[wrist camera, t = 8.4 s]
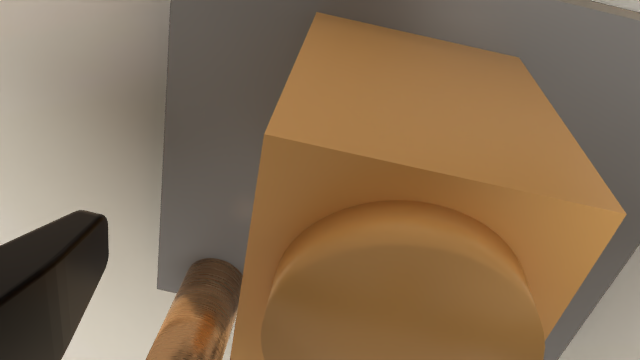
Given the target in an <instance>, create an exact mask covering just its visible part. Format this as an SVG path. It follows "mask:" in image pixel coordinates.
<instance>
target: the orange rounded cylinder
mask: <svg viewBox="0 0 640 360" xmlns="http://www.w3.org/2000/svg"><path fill="white" fill-rule="evenodd" d="M242 277H243V275H242V274H241V272H240V271H239V270H238V269H237V268H236V267H235V266H233V265H232V264H230V263H228V262H226V261H223V260H220V259H215V258H206V259H201V260H198V261H196V262H194V263H193V264H192V265H191V266H190V268H189V269H188V271H187V273H186V276H185V278H184V280H183V282H182V284H181V286H180V288H179V290H178V292H177V295H176V297H175V299H174V301H173V303H172V305H171V307H170V309H169V311H168V314H167V316H166V318H165V320H164V322H163V324H162V326H161V328H160V331H159V333H158V335H157V337H156V339H155V341H154V343H153V345H152V347H151V350H150V352H149V354H148V356H147V358H146V360H222V358H223V355H224V352H225V349H226V346H227V343H228V339H229V336H230V333H231V330H232V327H233V324H234V321H235V318H236V314H237V310H238V304H239V297H240V290H241V284H242Z"/></svg>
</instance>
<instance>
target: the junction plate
mask: <svg viewBox="0 0 640 360" xmlns="http://www.w3.org/2000/svg"><path fill="white" fill-rule="evenodd" d="M316 12H319V13H323V14H328V15H332V16H337V17H341V18H346V19H350V20H355V21H359V22H363V23H368V24H372V25H377V26H381V27H386V28H390V29H395V30H399V31H403V32H408V33H412V34H417V35H421V36H426V37H430V38H435V39H439V40H443V41H448V42H452V43H457V44H461V45H466V46H470V47H474V48H479V49H483V50H488V51H492V52H497V53H501V54H506V55H510V56H514V57H519V58H520V60H521V61H522V63H523V64H524V66H525V67H526V68H527V70H528V71H529V73H530V74H531V76H532V77H533V79H534V80H535V82H536V83H537V84H538V86H539V87H540V89H541V90H542V92H543V93H544V95H545V96H546V98H547V99H548V100H549V102H550V103H551V105H552V106H553V108H554V109H555V111H556V112H557V114H558V115H559V116H560V118H561V119H562V121H563V122H564V124H565V125H566V127H567V128H568V130H569V131H570V132H571V134H572V135H573V137H574V138H575V140H576V141H577V143H578V144H579V146H580V147H581V148H582V150H583V151H584V153H585V154H586V156H587V157H588V159H589V160H590V162H591V163H592V164H593V166H594V167H595V169H596V170H597V172H598V173H599V175H600V176H601V178H602V179H603V180H604V182H605V183H606V185H607V186H608V188H609V189H610V191H611V192H612V194H613V195H614V196H615V198H616V199H617V201H618V202H619V204H620V205H621V207H622V208H623V210H624V211H625V212H626V214H627V215H626V216H625V218H624V219H623V221H622V222H621V224H620V225H619V227H618V229H617V230H616V232H615V233H614V235H613V236H612V238H611V239H610V241H609V243H608V244H607V246H606V247H605V249H604V250H603V252H602V253H601V255H600V256H599V258H598V260H597V261H596V263H595V264H594V266H593V267H592V269H591V270H590V272H589V274H588V275H587V277H586V278H585V280H584V281H583V283H582V284H581V286H580V287H579V289H578V291H577V292H576V294H575V295H574V297H573V298H572V300H571V301H570V303H569V305H568V306H567V308H566V309H565V311H564V312H563V314H562V315H561V317H560V318H559V320H558V322H557V323H556V325H555V326H554V328H553V329H552V331H551V332H550V334H549V336H548V337H547V339H546V340H545V352H544V359H543V360H558V358H559V357H560V356H561V354H562V353H563V351H564V350H565V349H566V347H567V346H568V344H569V343H570V341H571V340H572V339H573V337H574V336H575V334H576V333H577V332H578V330H579V329H580V327H581V326H582V325H583V323H584V322H585V320H586V319H587V317H588V316H589V315H590V313H591V312H592V310H593V309H594V308H595V306H596V305H597V303H598V302H599V301H600V299H601V298H602V296H603V295H604V294H605V292H606V291H607V289H608V288H609V286H610V285H611V284H612V282H613V281H614V279H615V278H616V277H617V275H618V274H619V272H620V271H621V270H622V268H623V267H624V265H625V264H626V262H627V261H628V260H629V258H630V257H631V255H632V254H633V253H634V251H635V250H636V248H637V247H638V246H639V244H640V13H639V12H635V11H631V10H627V9H622V8H618V7H614V6H610V5H606V4H602V3H598V2H594V1H589V0H171V4H170V25H169V46H168V67H167V88H166V109H165V130H164V151H163V172H162V193H161V214H160V236H159V257H158V278H157V289H160V290H164V291H169V292H173V293H177V292H178V290H179V288H180V286H181V284H182V282H183V280H184V278H185V276H186V273H187V271H188V269H189V268H190V266H191V265H192V264H193V263H194V262H196V261H198V260H201V259H206V258H215V259H220V260H223V261H226V262H228V263H230V264H232V265H233V266H235V267H236V268H237V269H238V270H239V271H240V272H241V274H242V275H243V270H244V264H245V257H246V251H247V244H248V237H249V231H250V224H251V217H252V211H253V204H254V198H255V191H256V184H257V178H258V171H259V164H260V158H261V151H262V145H263V138H264V133H265V131H266V128H267V126H268V124H269V122H270V119H271V117H272V115H273V112H274V110H275V108H276V105H277V103H278V101H279V98H280V96H281V94H282V91H283V89H284V87H285V84H286V82H287V80H288V77H289V75H290V73H291V70H292V68H293V66H294V63H295V61H296V59H297V56H298V54H299V52H300V49H301V47H302V45H303V43H304V40H305V38H306V36H307V33H308V31H309V29H310V26H311V24H312V22H313V19H314V17H315V15H316Z"/></svg>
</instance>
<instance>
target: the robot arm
mask: <svg viewBox="0 0 640 360" xmlns="http://www.w3.org/2000/svg"><path fill="white" fill-rule="evenodd" d="M108 256H109V249H108V221H107V218H106V217H105V216H104V215H102V214H98V213H93V212H89V211H84V210H78V211H75V212H73V213H71V214H69V215H66V216H64V217H62V218H60V219H58V220H55V221H53V222H51V223H49V224H47V225H44V226H42V227H40V228H38V229H36V230H33V231H31V232H29V233H27V234H25V235H22V236H20V237H18V238H16V239H14V240H12V241H9V242H7V243H5V244H3V245H1V246H0V360H61V359H62V357H63V355H64V353H65V351H66V349H67V347H68V345H69V344H70V342H71V340H72V337H73V335H74V333H75V331H76V329H77V327H78V325H79V323H80V321H81V319H82V316H83V314H84V312H85V310H86V308H87V306H88V304H89V302H90V300H91V298H92V295H93V293H94V291H95V289H96V287H97V285H98V283H99V281H100V279H101V277H102V274H103V272H104V270H105V268H106V265H107V261H108Z"/></svg>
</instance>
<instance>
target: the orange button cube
mask: <svg viewBox="0 0 640 360" xmlns="http://www.w3.org/2000/svg"><path fill="white" fill-rule="evenodd" d="M626 215H627V214H626V212H625V211H624V210H623V208H622V207H621V205H620V204H619V202H618V201H617V199H616V198H615V196H614V195H613V194H612V192H611V191H610V189H609V188H608V186H607V185H606V183H605V182H604V180H603V179H602V178H601V176H600V175H599V173H598V172H597V170H596V169H595V167H594V166H593V164H592V163H591V162H590V160H589V159H588V157H587V156H586V154H585V153H584V151H583V150H582V148H581V147H580V146H579V144H578V143H577V141H576V140H575V138H574V137H573V135H572V134H571V132H570V131H569V130H568V128H567V127H566V125H565V124H564V122H563V121H562V119H561V118H560V116H559V115H558V114H557V112H556V111H555V109H554V108H553V106H552V105H551V103H550V102H549V100H548V99H547V98H546V96H545V95H544V93H543V92H542V90H541V89H540V87H539V86H538V84H537V83H536V82H535V80H534V79H533V77H532V76H531V74H530V73H529V71H528V70H527V68H526V67H525V66H524V64H523V63H522V61H521V60H520V58H519V57H514V56H510V55H506V54H501V53H497V52H492V51H488V50H483V49H479V48H474V47H470V46H466V45H461V44H457V43H452V42H448V41H443V40H439V39H435V38H430V37H426V36H421V35H417V34H412V33H408V32H403V31H399V30H395V29H390V28H386V27H381V26H377V25H372V24H368V23H363V22H359V21H355V20H350V19H346V18H341V17H337V16H332V15H328V14H323V13H319V12H316V15H315V17H314V19H313V22H312V24H311V26H310V29H309V31H308V33H307V36H306V38H305V40H304V43H303V45H302V47H301V49H300V52H299V54H298V56H297V59H296V61H295V63H294V66H293V68H292V70H291V73H290V75H289V77H288V80H287V82H286V84H285V87H284V89H283V91H282V94H281V96H280V98H279V101H278V103H277V105H276V108H275V110H274V112H273V115H272V117H271V119H270V122H269V124H268V126H267V128H266V131H265V133H264V138H263V145H262V151H261V158H260V164H259V171H258V178H257V184H256V191H255V198H254V204H253V211H252V217H251V224H250V231H249V237H248V244H247V251H246V257H245V264H244V270H243V277H242V284H241V290H240V297H239V304H238V310H237V317H236V323H235V330H234V337H233V343H232V350H231V356H230V360H543V359H544V352H545V340H546V339H547V337H548V336H549V334H550V332H551V331H552V329H553V328H554V326H555V325H556V323H557V322H558V320H559V318H560V317H561V315H562V314H563V312H564V311H565V309H566V308H567V306H568V305H569V303H570V301H571V300H572V298H573V297H574V295H575V294H576V292H577V291H578V289H579V287H580V286H581V284H582V283H583V281H584V280H585V278H586V277H587V275H588V274H589V272H590V270H591V269H592V267H593V266H594V264H595V263H596V261H597V260H598V258H599V256H600V255H601V253H602V252H603V250H604V249H605V247H606V246H607V244H608V243H609V241H610V239H611V238H612V236H613V235H614V233H615V232H616V230H617V229H618V227H619V225H620V224H621V222H622V221H623V219H624V218H625V216H626Z"/></svg>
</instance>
